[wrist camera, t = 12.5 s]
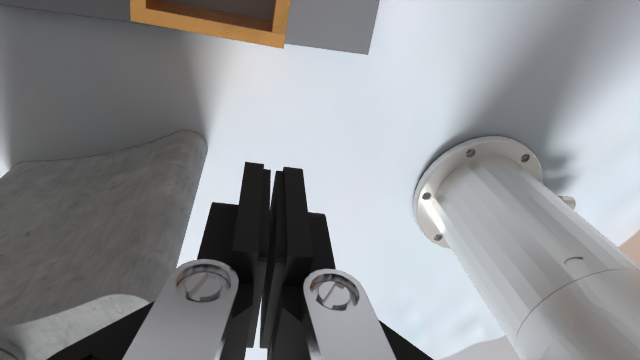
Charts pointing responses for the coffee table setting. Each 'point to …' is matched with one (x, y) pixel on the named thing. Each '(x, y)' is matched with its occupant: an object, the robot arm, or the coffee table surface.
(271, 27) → the wooden box with dish
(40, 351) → the hip flask
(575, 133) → the coffee table surface
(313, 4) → the base plate
